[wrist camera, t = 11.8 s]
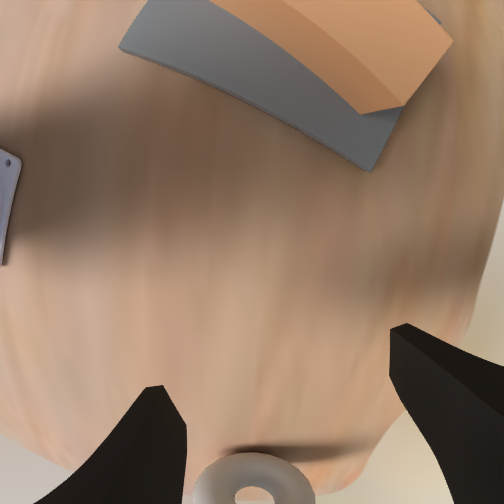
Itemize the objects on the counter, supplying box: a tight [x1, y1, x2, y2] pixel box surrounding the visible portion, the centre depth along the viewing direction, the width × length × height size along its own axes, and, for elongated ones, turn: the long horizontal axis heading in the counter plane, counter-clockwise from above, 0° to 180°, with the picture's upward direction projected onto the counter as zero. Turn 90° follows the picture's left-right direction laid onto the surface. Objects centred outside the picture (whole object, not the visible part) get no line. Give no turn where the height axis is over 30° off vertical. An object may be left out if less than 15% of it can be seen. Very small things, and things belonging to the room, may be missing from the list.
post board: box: [118, 0, 441, 172], centre depth 12 cm, size 15×12×4 cm
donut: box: [192, 452, 315, 504], centre depth 19 cm, size 10×4×10 cm, turn 80°
